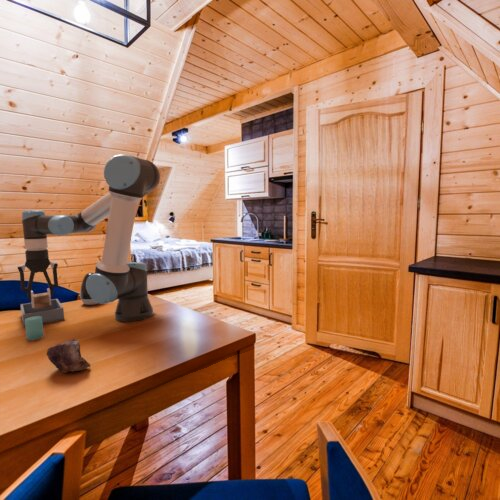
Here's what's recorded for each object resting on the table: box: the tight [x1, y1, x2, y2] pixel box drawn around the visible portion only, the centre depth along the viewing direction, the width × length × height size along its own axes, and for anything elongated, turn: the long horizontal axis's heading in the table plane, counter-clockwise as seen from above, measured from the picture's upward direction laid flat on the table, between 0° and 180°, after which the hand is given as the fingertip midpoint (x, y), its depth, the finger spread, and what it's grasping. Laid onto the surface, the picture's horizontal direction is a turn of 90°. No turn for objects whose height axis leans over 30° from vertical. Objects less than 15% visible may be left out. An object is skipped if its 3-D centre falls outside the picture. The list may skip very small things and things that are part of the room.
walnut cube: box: [33, 292, 50, 309], centre depth 127 cm, size 5×5×5 cm
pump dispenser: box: [79, 272, 99, 306], centre depth 150 cm, size 10×10×15 cm
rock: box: [46, 339, 91, 374], centre depth 88 cm, size 12×9×10 cm
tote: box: [19, 298, 65, 328], centre depth 131 cm, size 18×14×5 cm
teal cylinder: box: [24, 316, 45, 341], centre depth 110 cm, size 5×5×7 cm
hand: (41, 305), depth 127 cm, fingers closed on walnut cube, 5 cm apart
